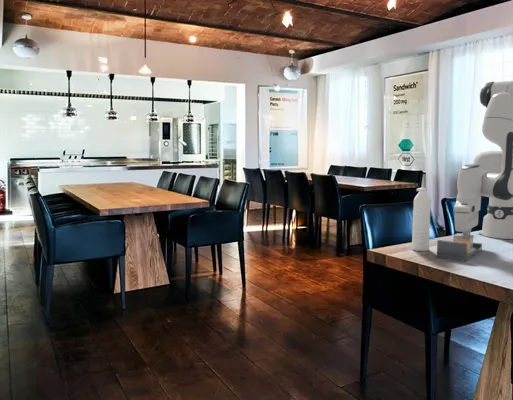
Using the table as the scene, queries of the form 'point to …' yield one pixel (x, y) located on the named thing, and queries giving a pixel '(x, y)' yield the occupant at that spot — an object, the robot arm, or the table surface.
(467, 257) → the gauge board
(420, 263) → the table surface
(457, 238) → the tan block
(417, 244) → the water bottle
